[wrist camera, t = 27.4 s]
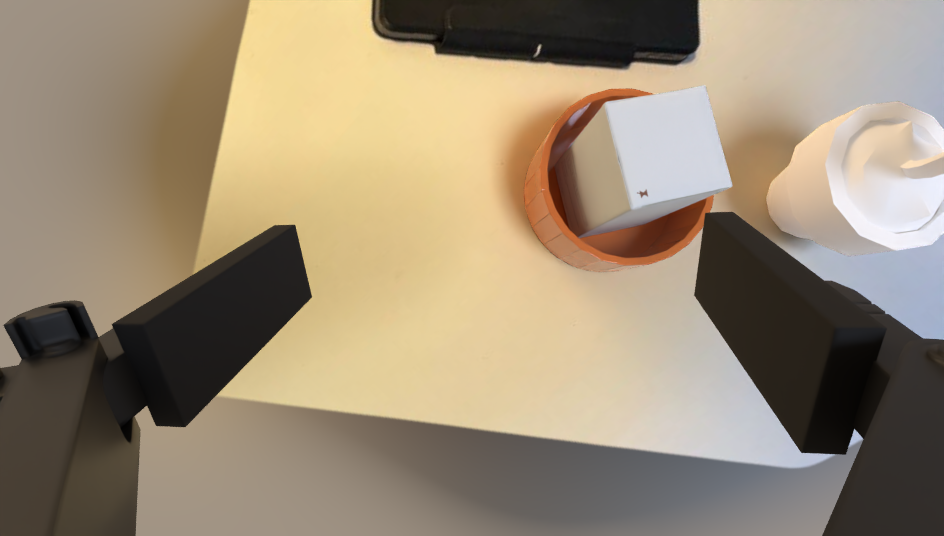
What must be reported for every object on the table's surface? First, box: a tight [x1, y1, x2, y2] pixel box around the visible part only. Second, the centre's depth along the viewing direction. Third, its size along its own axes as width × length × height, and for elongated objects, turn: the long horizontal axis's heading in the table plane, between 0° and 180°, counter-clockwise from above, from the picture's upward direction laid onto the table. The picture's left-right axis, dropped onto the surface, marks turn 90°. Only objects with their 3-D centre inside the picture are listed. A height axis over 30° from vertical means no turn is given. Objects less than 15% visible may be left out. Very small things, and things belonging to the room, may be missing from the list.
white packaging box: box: [554, 85, 732, 238], centre depth 36 cm, size 7×7×13 cm
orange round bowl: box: [524, 89, 714, 272], centre depth 39 cm, size 14×14×6 cm
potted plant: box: [766, 101, 944, 256], centre depth 32 cm, size 13×12×25 cm
